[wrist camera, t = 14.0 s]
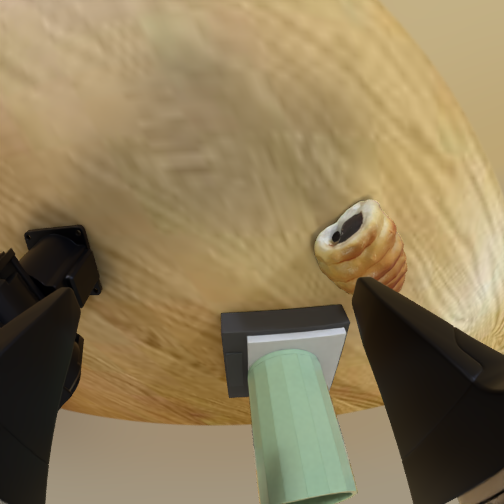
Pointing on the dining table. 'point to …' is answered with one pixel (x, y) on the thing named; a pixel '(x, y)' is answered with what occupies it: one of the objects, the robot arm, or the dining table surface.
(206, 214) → the dining table surface
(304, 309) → the scale
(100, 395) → the dining table surface
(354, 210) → the pastry
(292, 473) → the cup
